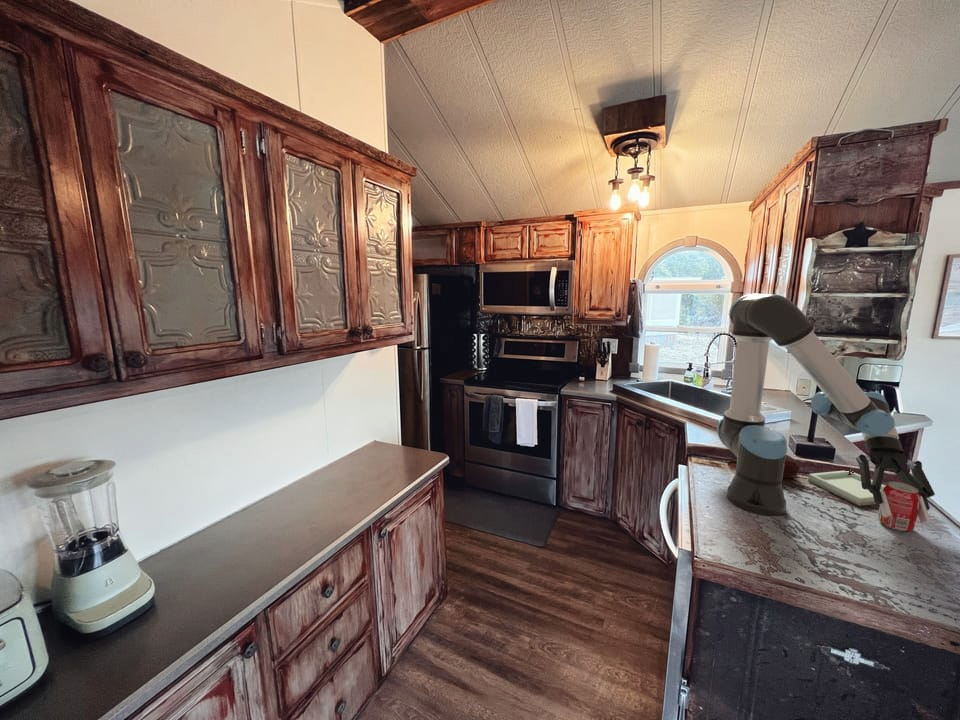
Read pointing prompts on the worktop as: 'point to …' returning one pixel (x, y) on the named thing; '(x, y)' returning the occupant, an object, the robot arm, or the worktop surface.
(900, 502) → the soda can
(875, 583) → the worktop surface
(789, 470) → the potato
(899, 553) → the worktop surface
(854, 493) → the tray
